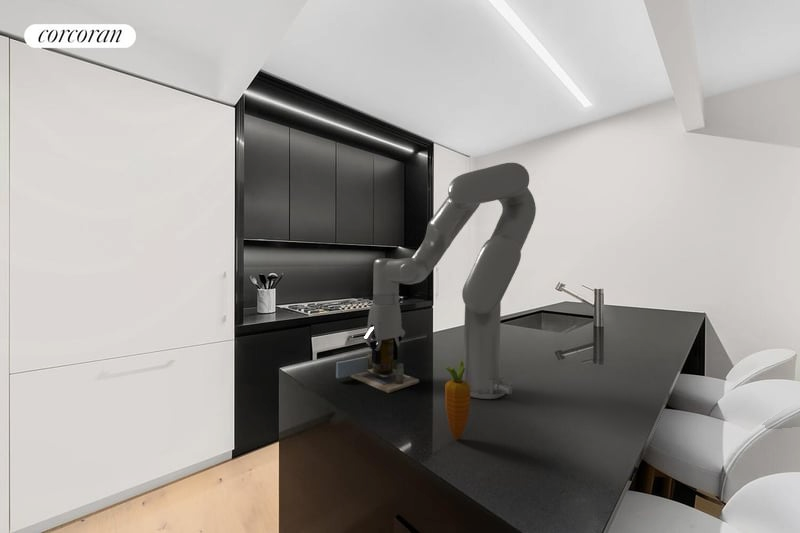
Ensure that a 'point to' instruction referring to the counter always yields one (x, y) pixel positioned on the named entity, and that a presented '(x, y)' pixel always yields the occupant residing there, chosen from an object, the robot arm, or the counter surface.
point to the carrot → (457, 401)
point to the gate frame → (386, 378)
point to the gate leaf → (351, 367)
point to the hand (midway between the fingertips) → (385, 360)
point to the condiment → (385, 359)
